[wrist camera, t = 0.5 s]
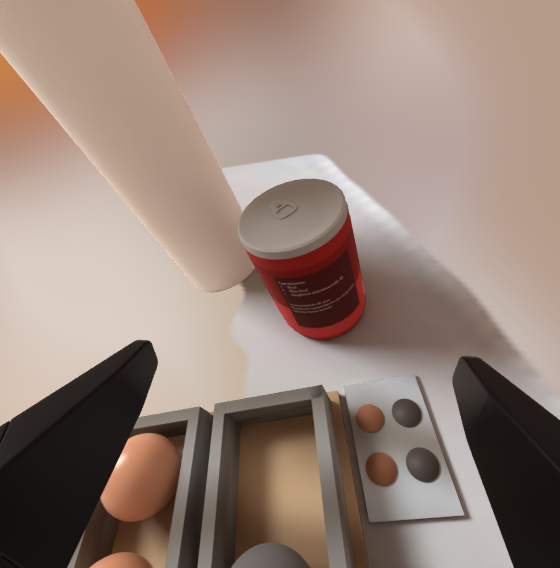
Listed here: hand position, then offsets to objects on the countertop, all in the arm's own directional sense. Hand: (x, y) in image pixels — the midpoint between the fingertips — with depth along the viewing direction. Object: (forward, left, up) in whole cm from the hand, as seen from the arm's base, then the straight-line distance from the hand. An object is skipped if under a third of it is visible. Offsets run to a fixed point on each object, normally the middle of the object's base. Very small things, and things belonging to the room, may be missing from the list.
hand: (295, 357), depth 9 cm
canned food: (+13, +1, -15) cm, 20 cm away
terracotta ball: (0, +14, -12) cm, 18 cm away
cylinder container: (+23, +12, -15) cm, 30 cm away
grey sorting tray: (-3, +7, -15) cm, 16 cm away
